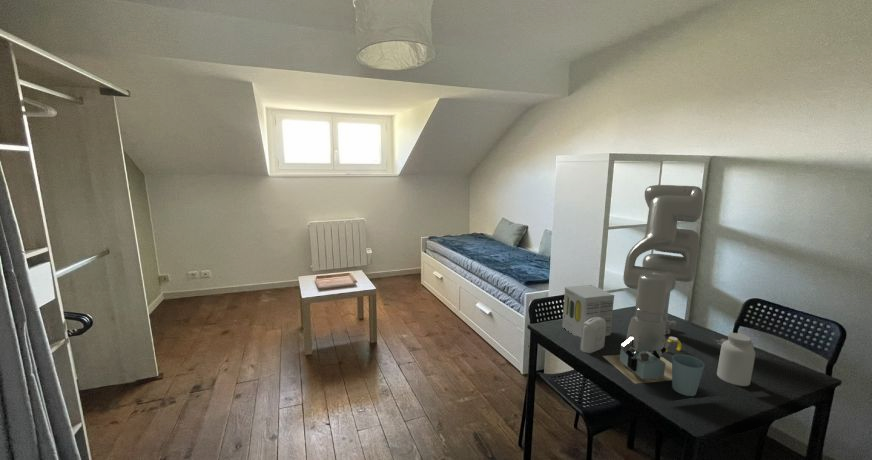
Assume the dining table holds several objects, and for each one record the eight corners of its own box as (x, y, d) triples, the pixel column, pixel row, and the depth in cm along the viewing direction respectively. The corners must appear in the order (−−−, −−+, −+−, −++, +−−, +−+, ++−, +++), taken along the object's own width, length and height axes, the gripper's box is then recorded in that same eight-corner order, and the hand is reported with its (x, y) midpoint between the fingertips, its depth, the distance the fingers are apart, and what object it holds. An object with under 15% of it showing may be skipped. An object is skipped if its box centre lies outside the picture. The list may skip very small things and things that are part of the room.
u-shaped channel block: (663, 376, 108) (665, 363, 107) (642, 378, 107) (644, 365, 106) (639, 358, 118) (640, 346, 118) (619, 360, 117) (620, 348, 116)
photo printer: (594, 344, 133) (597, 313, 131) (605, 349, 129) (608, 317, 127) (577, 352, 127) (580, 319, 125) (588, 357, 124) (591, 324, 122)
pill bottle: (727, 388, 107) (734, 341, 104) (710, 373, 114) (717, 329, 112) (756, 390, 106) (764, 343, 103) (737, 375, 113) (745, 331, 111)
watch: (667, 357, 125) (668, 341, 124) (661, 353, 128) (662, 337, 127) (682, 354, 126) (683, 339, 125) (676, 350, 128) (677, 335, 127)
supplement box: (561, 327, 148) (563, 286, 145) (588, 323, 151) (591, 284, 148) (582, 342, 135) (585, 298, 132) (611, 337, 138) (615, 294, 135)
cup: (689, 386, 107) (694, 354, 106) (706, 402, 100) (711, 368, 98) (663, 384, 108) (666, 353, 106) (677, 400, 101) (681, 367, 99)
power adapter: (712, 352, 127) (714, 337, 126) (709, 346, 132) (711, 332, 131) (752, 360, 122) (755, 344, 121) (748, 354, 127) (750, 338, 126)
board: (654, 355, 126) (656, 334, 124) (693, 381, 110) (696, 358, 109) (602, 359, 123) (604, 338, 121) (634, 387, 107) (637, 363, 106)
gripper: (664, 308, 114) (658, 359, 117) (615, 311, 111) (610, 363, 114) (684, 317, 106) (677, 372, 110) (631, 321, 104) (625, 377, 107)
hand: (642, 367), depth 112 cm, fingers closed on u-shaped channel block, 7 cm apart
